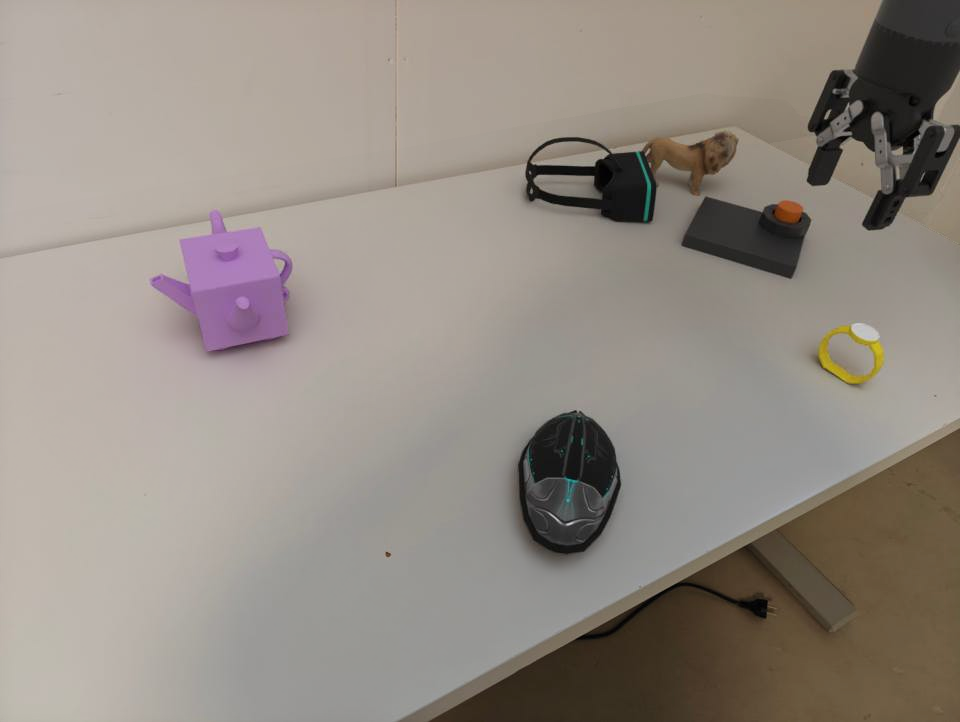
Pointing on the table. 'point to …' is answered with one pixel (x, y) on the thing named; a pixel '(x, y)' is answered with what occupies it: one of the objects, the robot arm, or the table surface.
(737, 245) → the button base plate
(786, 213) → the button
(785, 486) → the table surface
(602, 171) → the virtual reality headset
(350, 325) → the table surface
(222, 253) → the teapot
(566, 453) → the computer mouse
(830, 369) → the watch
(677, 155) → the lion figurine
